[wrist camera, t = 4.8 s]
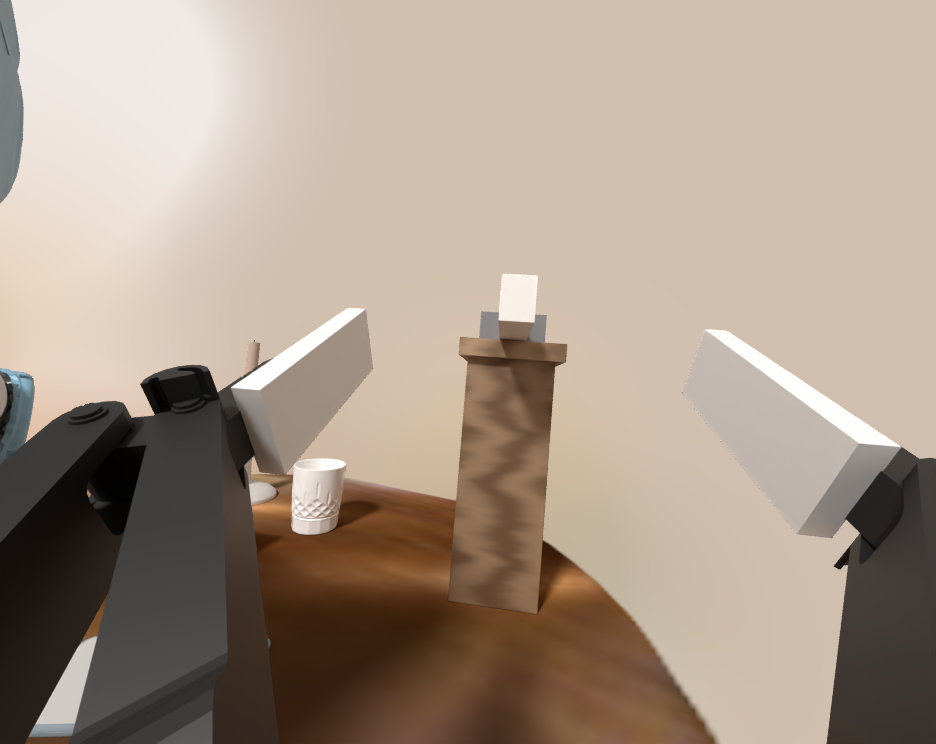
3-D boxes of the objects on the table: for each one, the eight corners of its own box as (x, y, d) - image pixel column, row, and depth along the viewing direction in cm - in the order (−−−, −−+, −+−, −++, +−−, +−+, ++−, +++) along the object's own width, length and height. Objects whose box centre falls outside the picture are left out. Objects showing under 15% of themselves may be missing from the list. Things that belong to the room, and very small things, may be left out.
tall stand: (437, 605, 38) (460, 336, 40) (455, 547, 52) (471, 349, 54) (547, 621, 37) (567, 343, 38) (535, 558, 51) (550, 355, 52)
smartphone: (222, 724, 23) (-37, 730, 22) (220, 739, 23) (-39, 746, 22) (274, 635, 32) (91, 633, 30) (273, 646, 32) (89, 645, 30)
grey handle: (463, 318, 30) (468, 260, 30) (482, 353, 56) (484, 322, 57) (571, 324, 29) (575, 265, 29) (538, 357, 55) (540, 326, 56)
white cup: (276, 527, 54) (283, 463, 55) (320, 513, 61) (325, 456, 62) (308, 542, 50) (315, 473, 51) (351, 525, 57) (356, 464, 58)
